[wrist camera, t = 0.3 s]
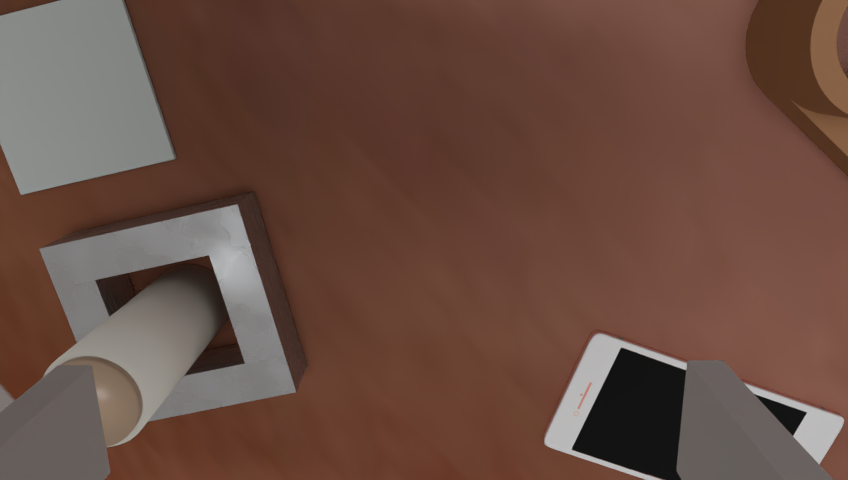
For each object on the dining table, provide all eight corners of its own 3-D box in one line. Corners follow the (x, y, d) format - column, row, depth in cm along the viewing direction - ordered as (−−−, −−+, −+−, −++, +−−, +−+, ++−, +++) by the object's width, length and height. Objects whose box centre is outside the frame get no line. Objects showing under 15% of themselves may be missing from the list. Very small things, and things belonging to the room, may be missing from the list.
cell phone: (776, 516, 46) (782, 525, 45) (539, 437, 45) (541, 445, 44) (839, 411, 44) (848, 419, 43) (591, 325, 43) (594, 331, 42)
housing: (71, 232, 41) (38, 248, 38) (254, 191, 40) (237, 204, 37) (136, 400, 44) (111, 428, 41) (307, 365, 43) (296, 392, 40)
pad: (-43, 27, 38) (-47, 27, 38) (119, -14, 37) (117, -15, 37) (23, 193, 40) (20, 194, 40) (176, 158, 40) (174, 159, 39)
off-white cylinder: (143, 272, 42) (17, 367, 29) (217, 256, 41) (122, 345, 29) (168, 343, 43) (58, 462, 31) (241, 328, 43) (159, 442, 30)
